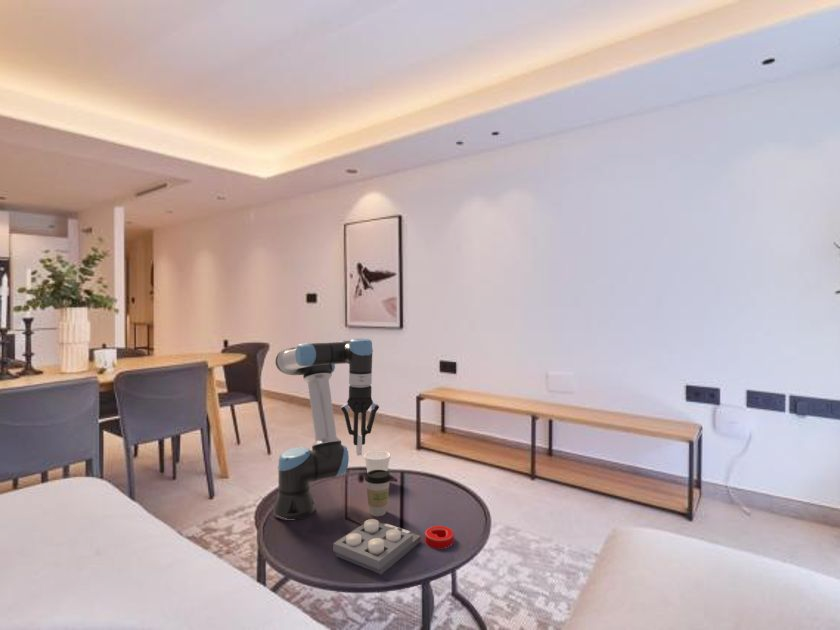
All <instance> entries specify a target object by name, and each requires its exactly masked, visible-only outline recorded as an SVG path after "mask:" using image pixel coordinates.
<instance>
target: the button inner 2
mask: <svg viewBox="0 0 840 630" xmlns="http://www.w3.org/2000/svg"><path fill="white" fill-rule="evenodd" d="M379 522H380V521H379V520H377V519H376V518H375V519H374V518H370V519H367V520H365V521H364V522H363V524H364V532H366V533H368V534H371V535H374V534H375V533H377V532H378V531H379Z"/></svg>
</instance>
